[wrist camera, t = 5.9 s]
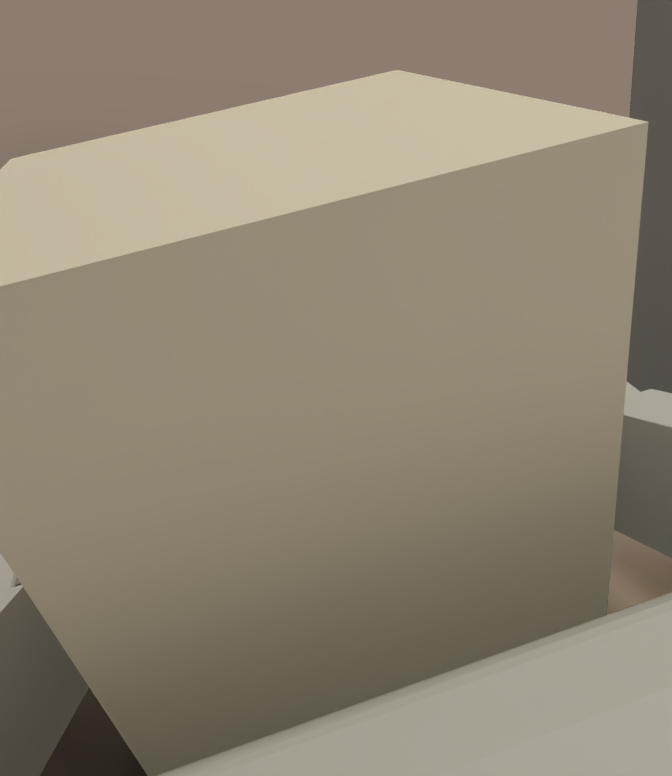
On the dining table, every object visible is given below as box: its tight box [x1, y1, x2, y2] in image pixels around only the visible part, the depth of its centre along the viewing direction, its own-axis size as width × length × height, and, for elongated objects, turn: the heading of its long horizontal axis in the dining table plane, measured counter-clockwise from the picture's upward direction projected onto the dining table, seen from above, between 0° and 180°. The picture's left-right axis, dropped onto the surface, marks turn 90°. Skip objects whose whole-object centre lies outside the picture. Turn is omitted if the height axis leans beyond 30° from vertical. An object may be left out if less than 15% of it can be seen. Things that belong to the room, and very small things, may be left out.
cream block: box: [0, 70, 648, 776], centre depth 9 cm, size 5×5×10 cm
